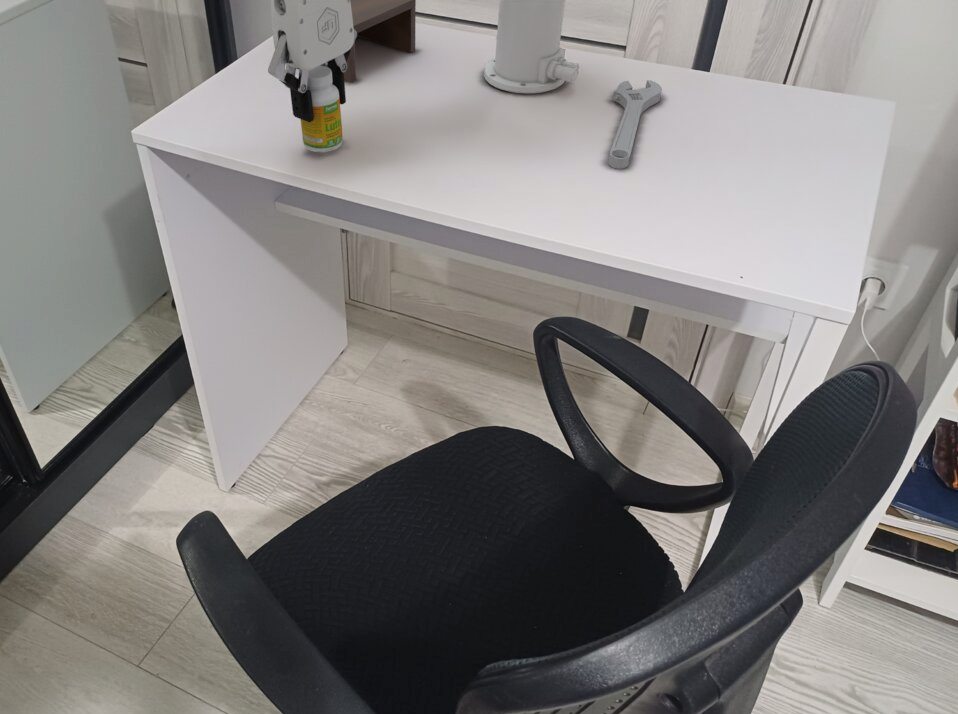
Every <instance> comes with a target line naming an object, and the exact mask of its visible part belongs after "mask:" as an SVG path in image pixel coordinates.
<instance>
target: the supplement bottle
mask: <svg viewBox="0 0 958 714" xmlns="http://www.w3.org/2000/svg"><path fill="white" fill-rule="evenodd" d="M332 82H333V81H332V71H331V69H330V68H328V67H325V66H318V67H316V68H314V69H311V70H309V75H308V84H307V90H310V91H311V95H312V105H313V114H314V119H313V121H311V122H307V121H304V120H302V119H300V126H301V127H300V128H301V135H302V136H301V137H302V143H303V146H304V148H305V149H306V150H308V151H311V152H315V153H328V152H329V153H330V152H332V151H335V150H337V149H339V148H340V147H341V146H342V145H343V142H344V141H343V140H344V138H343V137H344V136H343V123H342V114H341V113H342V112H341V104H340V98H339V91H338V89H337V87H336V86H335V85H333V84H332Z"/></svg>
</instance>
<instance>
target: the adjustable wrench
mask: <svg viewBox="0 0 958 714" xmlns="http://www.w3.org/2000/svg"><path fill="white" fill-rule="evenodd" d="M662 87H663V86H662V85H661V84H659V83H658V82H656V81H655V80H651V79H646V83H645V88H644V89H643V88H642V89H641V88H640V89H633V88H634V87H633V86H632V83H631V82H630V81H629V80H625V81H622V82H620V83H619V85H618V86H617V88H616V89H617V90H616V89H615V90H613V95H612V101H613V102H616V103H617V104H619V105H620V106H621V107H623V109H624V112H623V115H622V117H621V121H620V123H619V125H618V129H617V131H616V134H615V137H614V140H613V143H612V146H611V148H610V151H609V155H608V161H607V164H608V166H610V167H611V168H613V169H617V170H619V169H625V168H627V167H628V166H629V163H630V159H631V155H632V150H633V147H634V142H635V138H636V134H637V130H638V127H639V122H640V117H641V115H642V113H643V112H644V111H646V110H647V109H648V108H650V107H651V106H653V105H655V104H657V103H659V102H660V100H661V95H662V91H663V88H662Z"/></svg>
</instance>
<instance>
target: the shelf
mask: <svg viewBox="0 0 958 714" xmlns="http://www.w3.org/2000/svg"><path fill="white" fill-rule="evenodd" d="M350 2H351V10H352V18H353V28H354V29H355V30H356V32H357V37H359V38H361V39H365V40H368V41H370V42H374V43H378V44H381V45H384V46H388V47H391V48H394V49H397V50H401V51H403V52H407V53H410V54H411V53H414V52H415V51H416V8H417V7H416V2H417V1H416V0H350ZM355 43H356V42H355V41H354V44H353V46H352V47H351V52H350V54H349V57H348V59H347V61H346V63H347V69H346V71H345V72H343V74H344V82H348V83H351V84H352V83H354V82H356V81H357V67H356V49H355V48H356V47H355V45H356V44H355ZM320 66H325V67H327V66H326V64H325V63H324V64H322V65H320Z"/></svg>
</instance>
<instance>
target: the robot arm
mask: <svg viewBox="0 0 958 714" xmlns="http://www.w3.org/2000/svg"><path fill="white" fill-rule="evenodd" d="M565 6H566V0H499V3H498V16H497V31H496V43H495V57H494V58H493V59H491V60H490V61H488V62H487V63H486V64H485V65H484V69H483V77H484V79H485V81H486V82H487V83H488V84H490V85H491V86H493V87H494V88H496V89H499V90H502V91H504V92H510V93H516V94H541V93H546V92H550V91H553V90H555V89H557V88H559V87H561V86H562V85H563V84H564V83H566V82H567V83H571V84H574V83H575V82H577V79H578V76H579V69H580V65H579V63H575V62H572V61H567V59H566V48H563V47H560V46H561V37H562V29H563V21H564V14H565ZM270 14H271V15H270V16H271V28H272V29H271V31H272V38H273V45H274V47H273V48H274V52H273V55H272V57H271V59H270V62H269V64H268V69H267V72H268V74H269V75H271V76H272V77H273V78H275V79H277V80H278V81H279V82H281V84H283V85H284V86H285V88H287V89H289V92H290V102H291V109H292V115H293V117H295V118H297V119H300V120H301V119H302V120H304V121H307V122H311V121H313V119H314V114H313V105H312V95H311V91H310V90H307V84H308V75H309V70H311V69H314V68H316V67H318V66H320V65H322V64H324V63H325V64H326V66H327V67H328V68H330V69H331V71H332V81H333V82H332V84H333V85H335V86H336V87H337V89H338V91H339V98H340V105H344V104H346V102H347V98H346V86H345V84H346V83H345V80H344V74H343V72H345V71H346V69H347V63H346V61H347V59H348V57H349V54H350V52H351V47H352V46H353V44H354V42H355V41H356V39H357V37H358V36H357V32H356V30H355V29H354V28H353V18H352V10H351V2H350V0H270ZM297 70H298V77H296V73H297Z"/></svg>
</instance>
